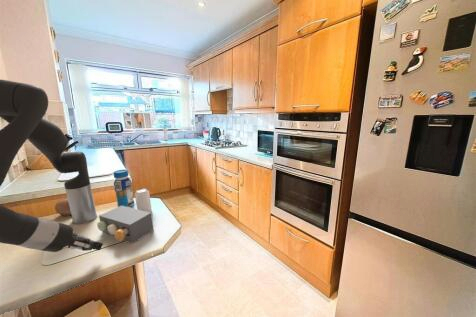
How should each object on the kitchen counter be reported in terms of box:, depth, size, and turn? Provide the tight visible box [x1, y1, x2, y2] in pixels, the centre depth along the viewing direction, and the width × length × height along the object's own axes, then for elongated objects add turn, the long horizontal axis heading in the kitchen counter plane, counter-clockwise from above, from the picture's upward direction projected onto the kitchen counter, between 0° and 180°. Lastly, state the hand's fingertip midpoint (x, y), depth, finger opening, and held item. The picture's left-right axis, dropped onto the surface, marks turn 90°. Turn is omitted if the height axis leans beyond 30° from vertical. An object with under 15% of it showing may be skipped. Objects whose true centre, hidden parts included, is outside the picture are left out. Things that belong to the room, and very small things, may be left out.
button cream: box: [107, 224, 118, 236], centre depth 79 cm, size 4×5×4 cm
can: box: [134, 187, 152, 213], centre depth 99 cm, size 6×6×12 cm
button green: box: [97, 220, 108, 232], centre depth 81 cm, size 4×5×4 cm
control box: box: [98, 206, 154, 244], centre depth 83 cm, size 19×10×8 cm, turn 66°
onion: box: [54, 196, 72, 217], centre depth 100 cm, size 10×9×10 cm
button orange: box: [114, 228, 129, 242], centre depth 75 cm, size 4×5×4 cm
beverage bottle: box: [112, 169, 135, 208], centre depth 107 cm, size 8×8×20 cm
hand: (100, 246), depth 67 cm, fingers closed
